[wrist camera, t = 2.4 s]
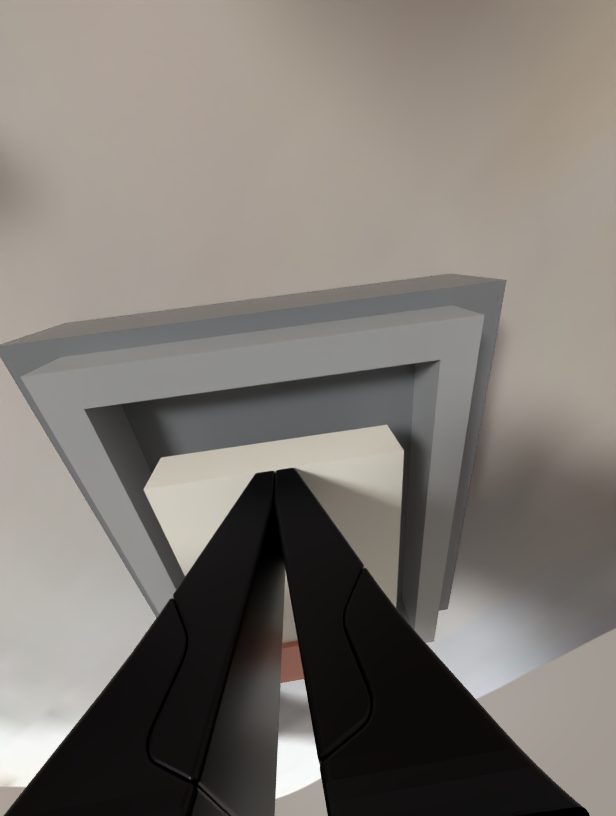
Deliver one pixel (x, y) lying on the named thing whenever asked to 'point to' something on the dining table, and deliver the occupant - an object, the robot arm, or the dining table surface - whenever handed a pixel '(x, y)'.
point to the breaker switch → (323, 473)
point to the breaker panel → (274, 405)
